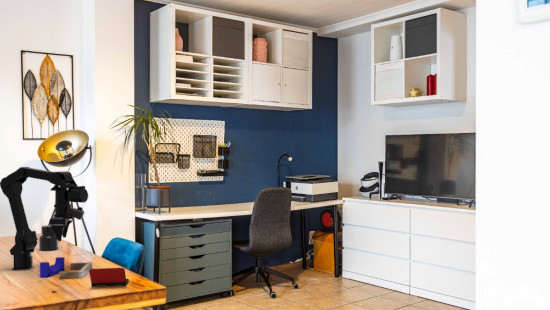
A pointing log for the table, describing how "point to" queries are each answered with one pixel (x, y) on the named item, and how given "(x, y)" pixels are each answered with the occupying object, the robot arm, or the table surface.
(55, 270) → the cable clip
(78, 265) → the slot rails
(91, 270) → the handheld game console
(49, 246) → the ink bottle
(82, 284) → the table surface
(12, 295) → the table surface
